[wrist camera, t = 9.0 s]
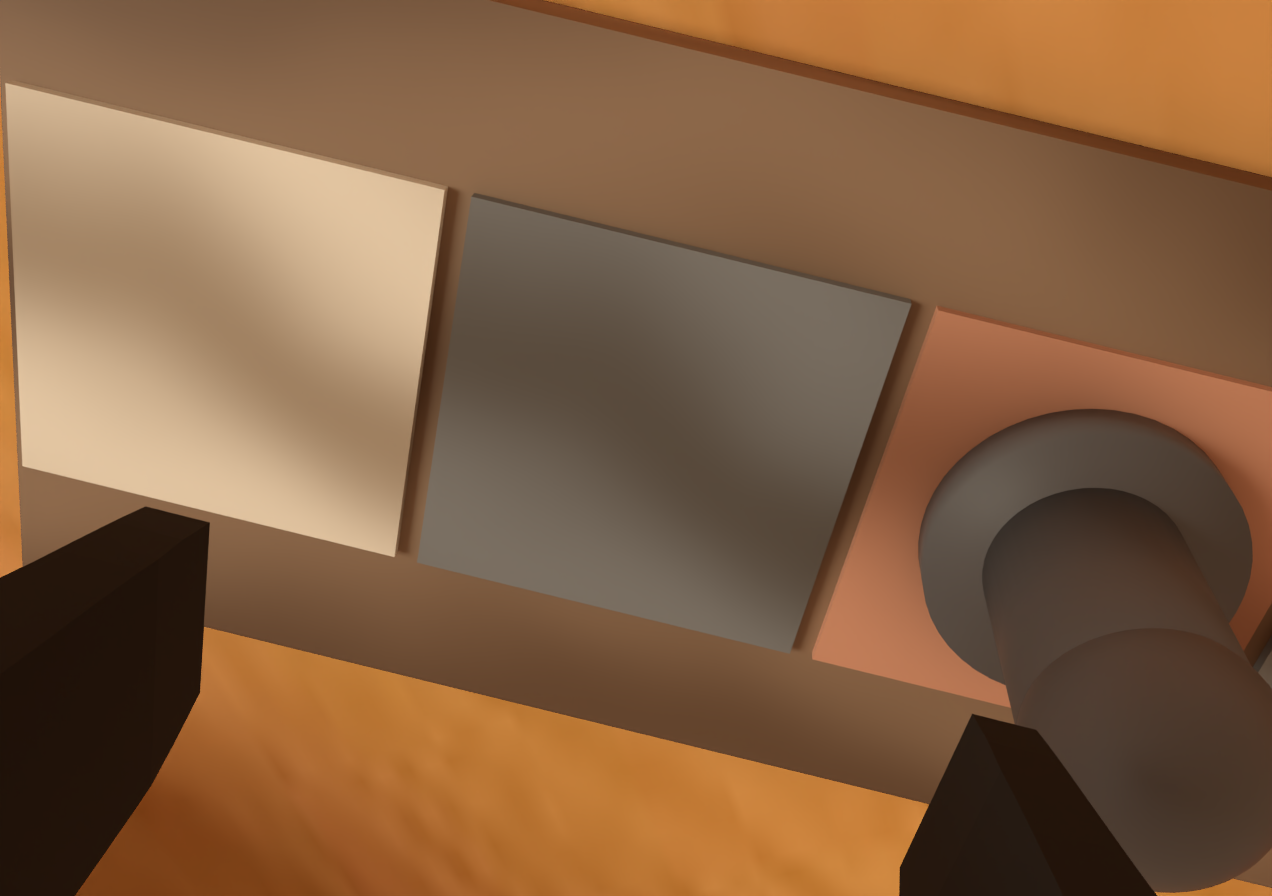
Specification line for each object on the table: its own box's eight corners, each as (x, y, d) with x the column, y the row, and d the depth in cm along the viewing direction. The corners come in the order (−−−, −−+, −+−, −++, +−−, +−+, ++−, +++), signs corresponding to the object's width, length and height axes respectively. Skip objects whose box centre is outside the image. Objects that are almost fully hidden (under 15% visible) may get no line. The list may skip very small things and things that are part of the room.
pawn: (1157, 695, 20) (1295, 1038, 14) (878, 626, 20) (909, 941, 14) (1292, 453, 18) (1520, 748, 12) (978, 374, 18) (1061, 632, 12)
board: (1473, 900, 23) (1506, 953, 22) (52, 553, 23) (17, 588, 22) (1926, 337, 17) (2001, 370, 16) (31, -125, 17) (-19, -121, 16)
